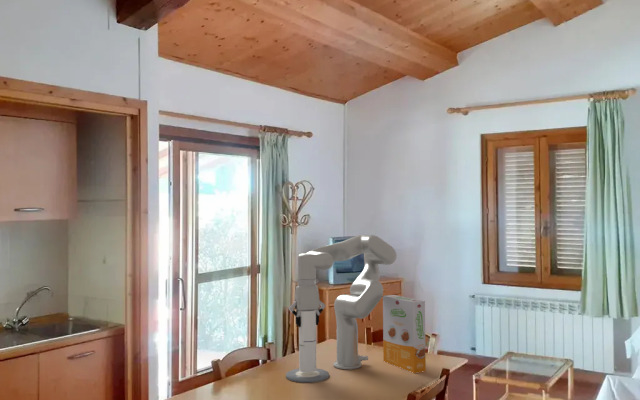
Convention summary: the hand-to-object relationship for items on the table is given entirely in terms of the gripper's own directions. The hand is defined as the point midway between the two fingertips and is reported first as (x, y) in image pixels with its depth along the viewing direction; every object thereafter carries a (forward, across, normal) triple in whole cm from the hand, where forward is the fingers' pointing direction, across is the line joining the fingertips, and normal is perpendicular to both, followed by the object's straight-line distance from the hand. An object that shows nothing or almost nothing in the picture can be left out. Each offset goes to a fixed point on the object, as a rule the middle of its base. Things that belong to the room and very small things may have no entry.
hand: (307, 325), depth 232 cm
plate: (+21, 0, 0) cm, 21 cm away
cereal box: (+22, -45, +2) cm, 50 cm away
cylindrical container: (+19, 0, 0) cm, 19 cm away
